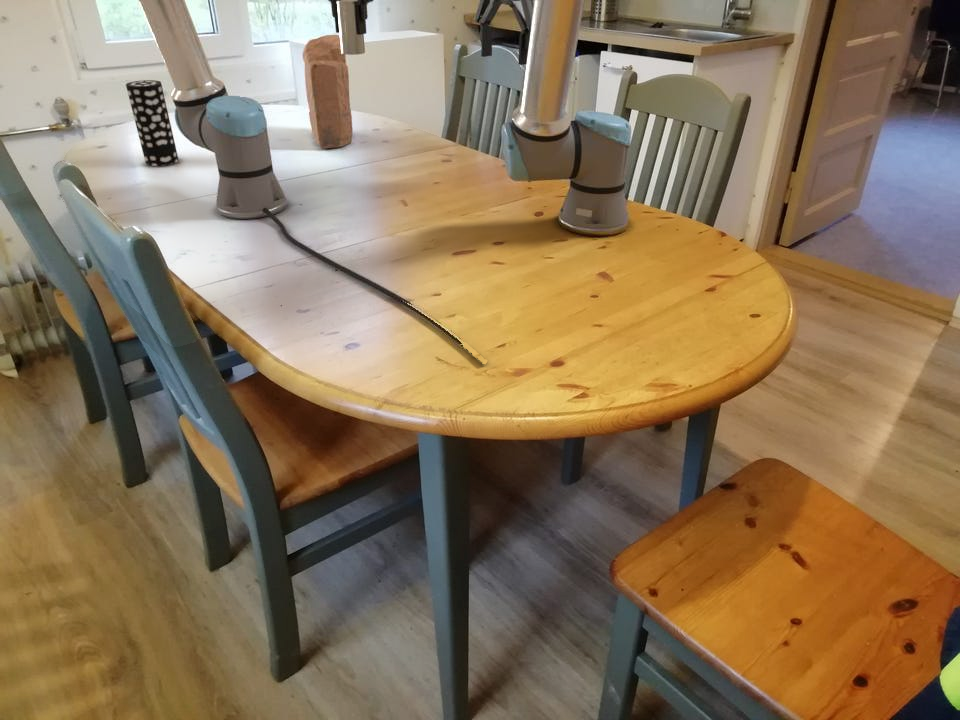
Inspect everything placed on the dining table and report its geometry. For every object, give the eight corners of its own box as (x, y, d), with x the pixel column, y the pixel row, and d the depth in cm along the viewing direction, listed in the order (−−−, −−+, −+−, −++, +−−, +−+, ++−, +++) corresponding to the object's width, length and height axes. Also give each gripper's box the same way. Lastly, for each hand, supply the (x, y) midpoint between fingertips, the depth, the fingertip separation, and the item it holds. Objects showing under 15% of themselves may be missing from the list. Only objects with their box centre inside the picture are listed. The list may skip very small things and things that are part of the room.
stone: (358, 147, 199) (349, 40, 185) (319, 150, 196) (306, 42, 182) (347, 131, 217) (337, 33, 202) (310, 134, 214) (298, 34, 199)
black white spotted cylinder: (184, 157, 190) (167, 80, 179) (169, 166, 183) (151, 87, 172) (155, 156, 190) (136, 79, 179) (139, 165, 183) (119, 86, 172)
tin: (341, 54, 172) (336, 1, 166) (341, 51, 177) (336, -1, 171) (365, 54, 173) (361, 1, 167) (364, 50, 178) (360, -1, 171)
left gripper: (385, -76, 159) (391, 34, 172) (320, -77, 166) (330, 28, 179) (366, -76, 153) (373, 37, 166) (299, -77, 161) (311, 32, 173)
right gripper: (459, -45, 159) (460, 54, 171) (533, -40, 143) (528, 69, 154) (485, -46, 163) (483, 51, 175) (559, -41, 147) (552, 66, 158)
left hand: (351, 32), depth 172 cm, fingers closed on tin, 6 cm apart
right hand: (504, 60), depth 165 cm, fingers open, 13 cm apart
